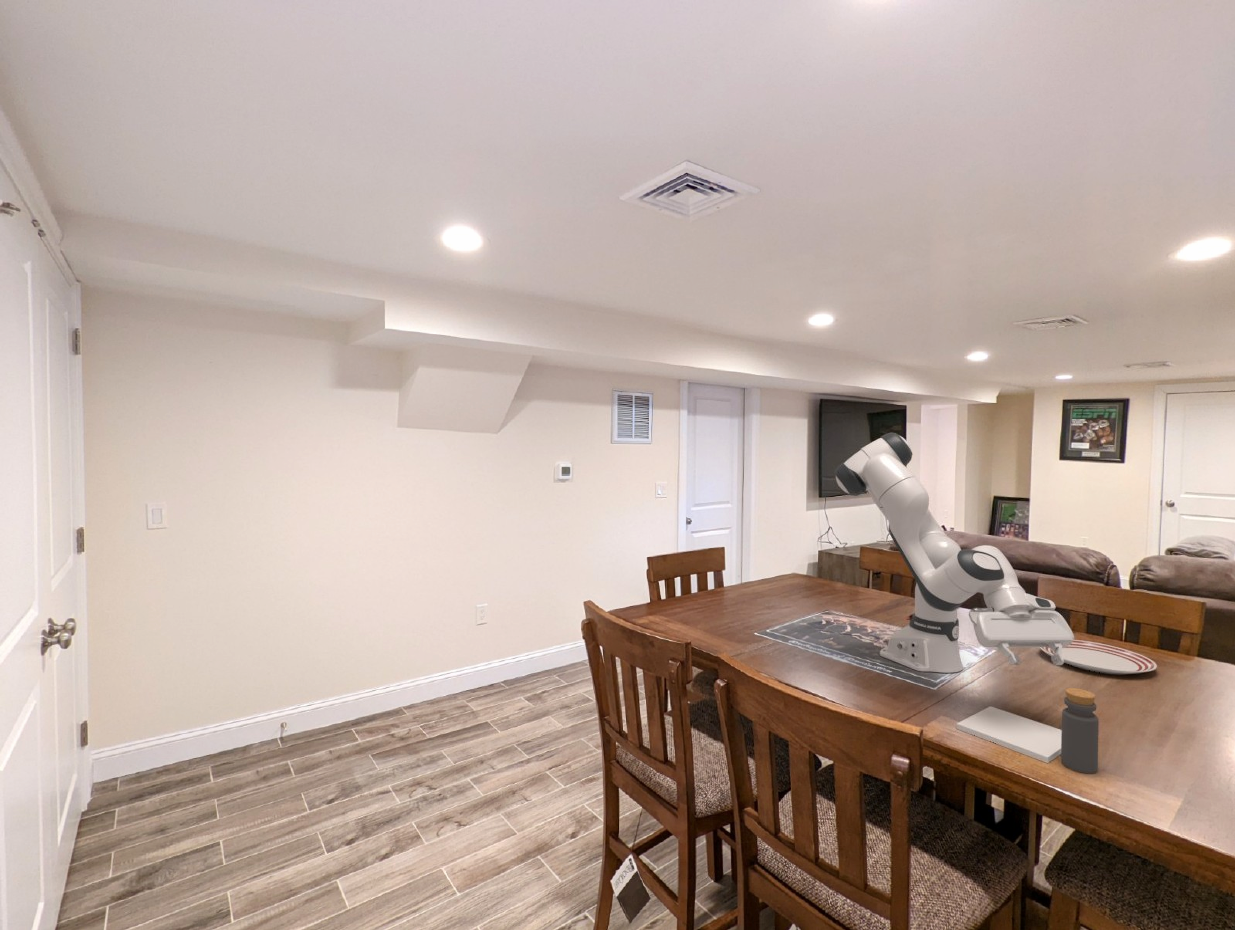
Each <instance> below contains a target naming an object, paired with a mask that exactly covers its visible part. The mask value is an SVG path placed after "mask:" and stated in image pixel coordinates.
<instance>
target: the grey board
mask: <svg viewBox="0 0 1235 930" xmlns="http://www.w3.org/2000/svg"><path fill="white" fill-rule="evenodd" d="M956 730H958V731H961V732H964V733H966V734H968V735H969V734H970V735H972V736H974V735H975V737H977V738H980V739H982V738H983V740H985V741H988V742H990V741H991V743H993V742H994V744H995V743H996V744H995V745H998V746H1001V747H1004V748H1007V749H1009V750H1011V751H1014V752H1017V753H1019V754H1022V755H1025V756H1027V757H1030V758H1033V759H1035V760H1039V761H1040V762H1044V763H1046V764H1049V763H1051V762H1052V761H1053V760H1055V759H1056V758H1057V757H1059V756H1061V734H1062V729H1060V728H1056V727H1054V726H1051V725H1048V724H1045V723H1042V722H1039V721H1036V720H1034V719H1033V720H1032V719H1030V718H1027V717H1024V716H1021V715H1018V714H1015V713H1012V712H1009V711H1006V710H1002V709H999V708H997V707H994V706H988V707H986V708H984V709H982V710H980V711H979V712H976V713H975V714H973V715H970V716H968V717H966V718H965V719H963V720H960V721H959V722H957V723H956Z"/></svg>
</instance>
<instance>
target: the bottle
mask: <svg viewBox="0 0 1235 930" xmlns="http://www.w3.org/2000/svg"><path fill="white" fill-rule="evenodd" d="M1065 694H1066V697H1064V700H1063V701H1064V702H1063V703H1064V704H1065V706H1067V707H1065V708H1064V709H1062V711H1061V730H1062V734H1061V754H1060V757H1061V758H1060V761H1061V763H1062V766H1063V765H1064V766H1065V767H1066V768H1067V769H1069V770H1072V771H1074V772H1078V773H1081V774H1082V773H1083V774H1088V775H1089V774H1096V773H1097V772H1098V770H1099V725H1100V724H1099V717H1098V716H1097V714H1095V713H1093V712H1095V711H1097V703H1095V699H1096V695H1095V693H1093V692H1091V691H1089V690H1085V689H1083V688H1074V687H1069V688H1066V689H1065Z"/></svg>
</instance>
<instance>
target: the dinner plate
mask: <svg viewBox="0 0 1235 930" xmlns="http://www.w3.org/2000/svg"><path fill="white" fill-rule="evenodd" d="M1038 648H1039V649H1040V650H1041V651H1043V653H1045V654H1046V655H1048V656H1050V657H1053V655H1054V651H1051V649H1050V647H1038ZM1061 656H1062V658H1063V659H1064V663H1063V664H1066V665H1068V664H1069V666H1071V665H1072V667H1075V668H1077V667H1078V669H1081V670H1085V671H1089V670H1090V671H1089V672H1094V671H1095V673H1099V672H1100V673H1101V674H1105V675H1106V674H1109V675H1130V674H1131V675H1132V674H1141V673H1147V672H1152V671H1155V670H1157V668H1158V665H1157V663H1156V662H1155V661H1154V660H1152V659H1150V658H1148V657H1147V656H1144V655H1143V654H1140V653H1137V652H1134V651H1132V650H1129V649H1125V648H1122V647H1117V646H1114V645H1109V644H1105V643H1104V644H1103V643H1100V642H1096V641H1095V642H1094V641H1087V640H1081V639H1080V640H1079V639H1074V640H1073V642H1072V643H1071V644H1070V645H1068V646H1067V647H1062V654H1061Z"/></svg>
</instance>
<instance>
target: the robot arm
mask: <svg viewBox="0 0 1235 930" xmlns="http://www.w3.org/2000/svg"><path fill="white" fill-rule="evenodd" d="M912 458H913V451H912V447H911V445H910V443H909V442H908V441H907V440H906V439H905V438H904V437H903V436H901V435H900V434H898V433H896V432H888V433H886V434H883V435H881V436H880V438H877V439H876V440H874V441H872V442H869V444H867V445H865V446H863V447H861V448H860V450H859V451H857V452H856V453H854V454H853V455H852V456H851V457H849V458H848V459H847V460H846V461H845V462H841V463H840V464H839V465H838V466H837V467H836V468H835V471H834V476H835V480H836V483H837V485H838V487H839V488H840V489H841V490H842V491H844V492H845V493H846V494H849V496H853V497H858V496H861V495H864V494H866V492H867V493H868V494H869V496H870V497H871V499H872V501H873V502H874V504H875V505H876V506H877V509H879V511H880V512H881V513H882V514H883V516H884V517H885V518H886V520H887V521H888V533H889V535H890V537H891V539H892V541H893V544H894V545H895V546H896V549H897V550H898V552H899V554H900V556H901V557H902V559H903V560H904V562H905V564H906V566H907V567H908V570H910V573H911V575H913V578H914V580H915V582H916V584H915V588H914V613H911V614H910V615H907V616H906V619H905V620H906V621H909V623H908V625H905V626H904V627H902V628H900V629H899V630H897V631H895V632H893V633H892V634H891V636H890V637H889V640H888V643H887V644H888V645H887V646H885V647H883V648H881V649H880V651H879V656H881V657H882V658H885V659H888V660H890V661H893V662H894V663H895V662H896V663H898V664H900V665H903V666H904V667H908V668H910V669H913V670H915V671H917V672H933V673H944V674H945V673H946V674H947V673H951V674H952V673H958V672H961V671H963V669H964V666H963V663H962V660H961V654H960V648H959V647H960V646H959V637H960V635H959V634H960V625H959V623H960V621H959V618H958V608H959V607H960V606H962V605H963V604H965V602H966V601H967V600H968V599H970V598H971V597H973V596H974V595H976V594H977V593H980V594H983V601H984V602H985V605H986V607H983V608H982V607H973V608H972V609H971V610H969V612H968V617H969V619H970V621H971V623H972V624H973V628H974V629H973V630H974V632H975V636H976V640H977V642H978V643H979V645H981V646H982V647H983V648H997V650H998V651H999V652H1000V654H1002V655H1003V656H1005V658H1007V660H1008V662H1009V664H1010V665H1011V666H1019V665H1020V664H1021V662H1022V661H1021V659H1020V656H1019V654H1018V653H1017V654H1015V653H1014V652H1013V651H1012V650H1010V648H1039V647H1050V649H1051V651H1054V655H1053V657H1052V656H1050V660H1051V662H1052V664H1053V665H1054V666H1062V665H1064V664H1065V663H1064V659H1063V658H1062V656H1061V654H1062V647H1067V646H1068V645H1070V644H1071V643H1072V642H1073V640H1075V634H1074V633H1073V631H1072V629H1071V627H1070V626H1069V624H1068V622H1067V621H1066V619H1065V618H1064V617H1063V615H1061V613H1059V612H1058V611H1056V610H1055V609H1056V604H1055V602H1054V601H1053V600H1051V599H1047V598H1042V597H1039V596H1035V595H1033V594H1030V593H1026V590H1025V589H1024V588H1023V587H1022V586H1021V585H1020V583H1019V580H1018V576H1017V573H1016V571H1015V569H1014V568H1013V566H1012V565H1011V563H1010V561H1009V560H1008V558H1007V557H1006V556H1005V554H1004V553H1003V552H1002V551H1001V550H1000V549H999V548H997V547H995V546H993V545H989V544H988V545H985V544H984V545H979V546H976V547H973V548H972V549H969V548H965V549H961V546H960V545H959V543H957V541H955V540H953V539H952V538H950V537H949V536H948V535H947V534H946V533H945V532H944V530H943V529H942V528H941V526H940V525H939V523H938V522H937V520H936V519H935V517H934V516H933V515H932V512H931V511H930V510H929V504H930V496H929V493H928V491H927V489H926V488H925V486H924V485H923V484H922V483H921V481H920V480H919V479H918V478H917V477H916V476H915V475H914V474H913V472H911V470H909V468H908V467H907V466H908V464H909V463H910V462H911V461H912Z"/></svg>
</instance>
